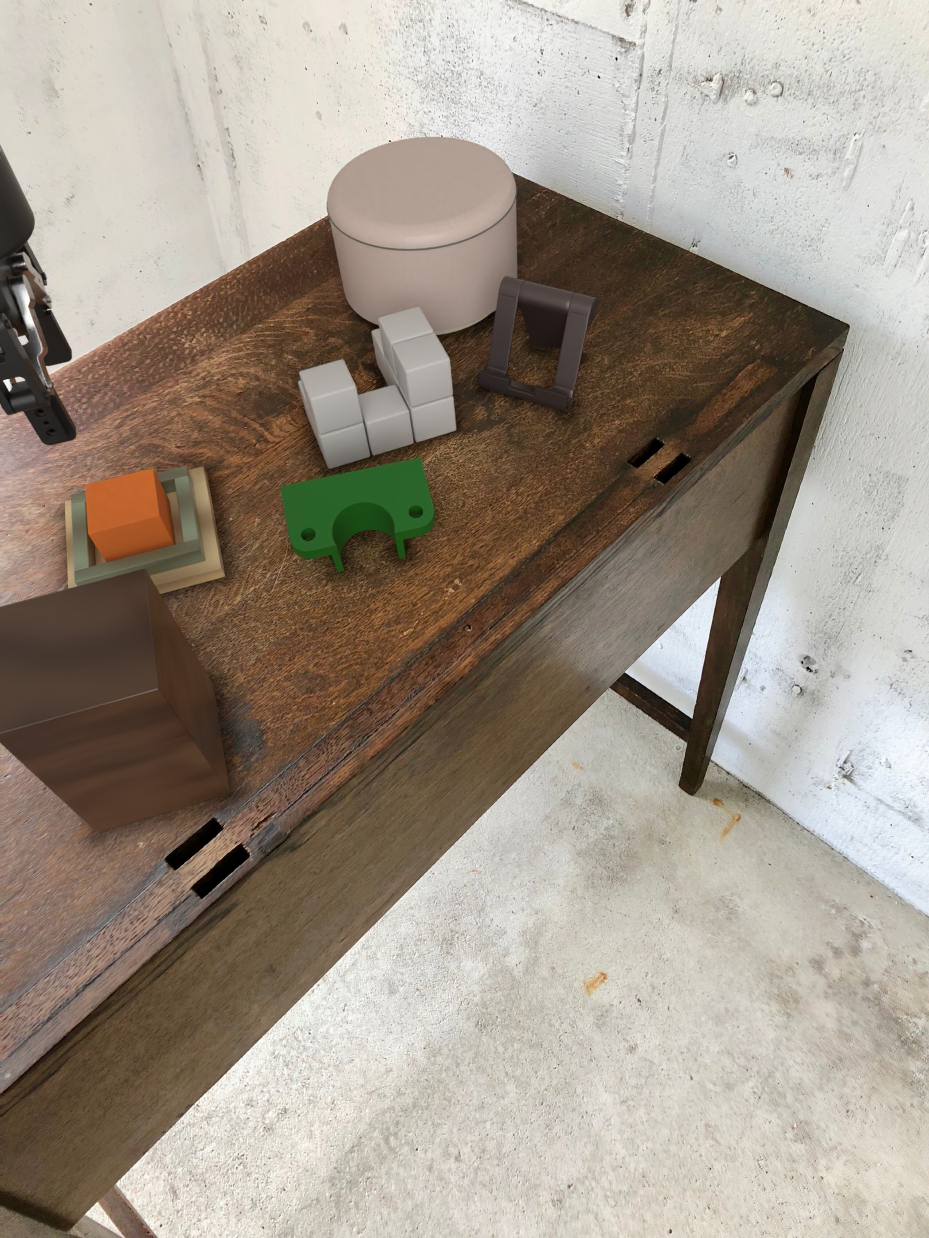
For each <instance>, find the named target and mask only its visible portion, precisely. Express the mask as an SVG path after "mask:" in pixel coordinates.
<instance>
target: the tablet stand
mask: <svg viewBox="0 0 929 1238" xmlns="http://www.w3.org/2000/svg"><path fill="white" fill-rule="evenodd" d="M519 309H520V312H521V316H522V319H523V322H524V325H525V328H526V332H527V336H528V339H529V341H530V344H531V347H532V348H533V349H534V350H537V351H540V352H544V353H546V351H547V347H550V348H554V349H556V350H557V349H558V350H559V351H560V353H559V357H558V363H557V369H556V373H555V379H554V384H553V387H552V389H548V388H545V387H541V386H539V385H535V386H532V385H529V384H526V383H522V382H519V381H515V380H512V378H510V377H508V372H509V371H508V370H509V363H510V358H511V350H512V345H513V338H514V332H515V327H516V320H517V313H518V310H519ZM598 309H599V299H598V298H597V297H595V296H591V295H586V294H583V293H578V292H574V291H570V290H566V289H563V288H557V287H554V286H549V285H545V284H542V283H537V282H533V281H529V280H525V279H521V278H518V277H517V278H513V277H509V276H505V277H504V278H503V279H502V281H501V283H500V287H499V293H498V299H497V306H496V310H495V312H494V313H495V314H494V320H493V328H492V335H491V342H490V348H489V355H488V363H487V367H486V371H485V370H482V369H481V370H479V372H478V386H479V387H480V388H481V389H485V390H489V391H490V392H496V393H499V394H501V395H505V396H509V397H511V398H512V397H513V398H516V399H519V400H523V401H526V402H530V403H533V404H536V405H540V406H543V407H547V408H551V409H553V410H555V411H561V412H564V413H567V412H569V411H570V409H571V407H572V404H573V401H574V396H575V391H576V387H577V383H578V382H577V381H578V376H579V370H580V366H581V363H582V362H581V361H582V357H583V351H584V346H585V341H586V337H587V332H588V328H589V326H590V325H591V324H592V323H593V322H594V321H595V318H596V316H597V313H598Z"/></svg>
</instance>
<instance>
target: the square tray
mask: <svg viewBox="0 0 929 1238" xmlns="http://www.w3.org/2000/svg"><path fill="white" fill-rule="evenodd" d="M155 473H156V475H157V477H158V479H159V481H160V483H161V485H162V487H163V489H164V491H165V493H166V495H167V497H168V499H169V501H170V507H171V514H172V521H173V528H174V535H175V542H176V544H175V545H171V546H168V547H164V548H160V549H156V550H152V551H148V552H145V553H141V554H137V555H133V556H129V557H126V558H122V559H118V560H114V561H110V562H107V563H106V561H105V560H104V558H103V556H102V555H101V553H100V552H99V550H98V549H97V547H96V545H95V544H94V542H93V541H92V539H91V538H90V536H89V534H88V523H87V507H86V492H85V490H84V491H81V492H76V493H72V494H70V499H69V500H65V501H64V515H65V517H64V518H65V542H66V544H65V545H66V563H67V564H66V565H67V568H66V569H67V589H69V588H72V587H76V586H80V585H84V584H87V583H91V582H95V581H99V580H103V579H106V578H110V577H114V576H118V575H121V574H125V573H129V572H133V571H136V570H140V569H146V571H147V572H148V574H149V576H150V577H151V579H152V581H153V583H154V584H155V586H156V588H157V589H158V591H159V593H160V595H162V594H166V593H170V592H173V591H177V590H180V589H185V588H188V587H192V586H196V585H199V584H202V583H207V582H211V581H214V580H218V579H221V578H225V577H226V572H225V568H224V567H225V566H224V561H223V556H222V551H221V545H220V539H219V534H218V527H217V523H216V517H215V510H214V505H213V500H212V495H211V487H210V482H209V477H208V473H207V472H206V468H205V467H204V466H198V467H195V468H191V469H189V468H188V466H187V465H183V466H179V467H176V468H171V469H168V470H164V471H159V472H155Z"/></svg>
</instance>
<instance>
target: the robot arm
mask: <svg viewBox="0 0 929 1238" xmlns="http://www.w3.org/2000/svg"><path fill="white" fill-rule="evenodd" d="M35 218H36V217H35V214H34V211H33V209H32V207H31V205H30V203H29V201H28V199H27V197H26V195H25V193H24V191H23V189H22V187H21V184H20V182H19V181H18V178H17V176H16V174H15V172H14V170H13V168H12V166H11V163H10V161H9V160H8V158H7V155H6V153H5V151H4V149H3V147H2V145H1V144H0V407H1V410H3V412H4V413H5V414H6V415H7V416H11V415H16V414H19V413H23V414H24V415H25V417H26V419H27V420H28V422H29V423H30V425H31V427H32V428H33V430H34V432H35V434H36V436H37V437H38V438H39V440H40V441H41V443H42V444H44V445H46V446H54V445H58V444H59V445H60V444H62V443H67V442H70V441H74V440H75V439H76V438H77V426H76V425H75V423H74V421H73V419H72V418H71V416H70V414H69V412H68V410H67V408H66V407H65V405H64V403H63V401H62V399H61V397H60V395H59V394H58V392H57V390H56V388H55V384H54V382H53V381H52V380H51V376H50V374H49V371H48V368H47V367H52V366H57V365H60V364H65V363H69V362H71V361H72V359H73V350H72V348H71V346H70V343H69V342H68V339H67V338H66V336H65V334H64V332H63V330H62V328H61V326H60V324H59V322H58V321H57V320H58V319H57V318H56V316H55V314H54V312H53V310H52V309H53V305H52V303H53V302H52V298H51V295H49V294H48V292H47V291H46V286H48V281H47V280H48V277H47V274H46V273H45V271H44V270H43V269H42V266H41V265H40V262H39V261H38V259H37V257H36V255H35V253H34V251H33V249H32V248H31V245H30V243H29V240H30V238H31V237H32V236H33V235H32V234H33V233H34V229H35V225H36V219H35ZM24 336H25V338H26V340H27V342H26V343H25V344H24V343H23V344H22V343H21V340H20V339H19V338H20V337H24ZM16 378H22V379H23V380H21V381H17V380H16Z"/></svg>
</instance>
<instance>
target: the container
mask: <svg viewBox="0 0 929 1238" xmlns="http://www.w3.org/2000/svg"><path fill="white" fill-rule="evenodd" d="M517 194H518V188H517V183H516V179H515V177H514V174H513V171H512V170H511V168H510V166H509V165H508V164H507V163H506V161H505V159H503V158H502V157H501V156H500V155H499V154H497V153H495V152H494V151H493V150H491V149H489V148H487V147H485V146H483V145H481V144H478V143H476V142H472V141H469V140H465V139H461V138H456V137H455V138H454V137H447V136H421V137H420V136H419V137H409V138H404V139H399V140H395V141H391V142H387V143H383V144H381V145H377V146H376V147H373V148H371V149H368V150H366V151H364V152H363V153H360V154H359V155H357V156H355V157H354V158H352V159H351V160H350V161H349V162H347V163H346V164H344V166H343V167H342V168H340V170H339V171H338V173H337V174H336V175H335V176H334V178H333V180H332V181H331V183H330V186H329V188H328V191H327V197H326V212H327V216H328V218H329V223H330V228H331V233H332V239H333V242H334V243H333V244H334V249H335V253H336V254H335V255H336V259H337V263H338V268H339V274H340V277H341V283H342V287H343V292H344V297H345V299H346V301H347V303H348V304H349V306H350V307H351V308H352V310H353V311H354V312H355V313H356V314H358V315H359V316H360V317H361V318H363V319H364V320H366V321H368V322H370V323H372V324H374V325H377V326H379V323H378V318H379V317H383V316H386V315H390V314H393V313H397V312H401V311H404V310H408V309H411V308H415V307H420V308H421V310H422V312H423V313H424V315H425V317H426V319H427V320H428V322H429V324H430V326H431V327H432V329H433V331H434V333H435V334H436V336H440V335H445V334H451V333H455V332H458V331H461V330H464V329H467V328H469V327H471V326H473V325H475V324H477V323H479V322H481V321H482V320H483V319H485V318H486V317H488V316H489V315H490V314H491V313H493V312H496V306H497V299H498V293H499V287H500V283H501V281H502V279H503V278H504V277H505V276H509V277H513V278H517V279H518V233H517V230H518V229H517V196H518V195H517Z"/></svg>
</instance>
